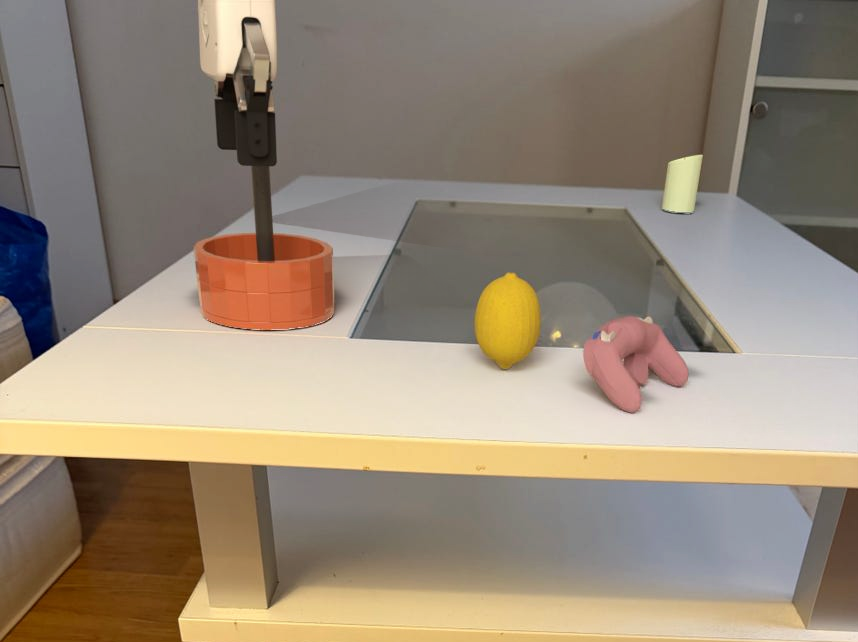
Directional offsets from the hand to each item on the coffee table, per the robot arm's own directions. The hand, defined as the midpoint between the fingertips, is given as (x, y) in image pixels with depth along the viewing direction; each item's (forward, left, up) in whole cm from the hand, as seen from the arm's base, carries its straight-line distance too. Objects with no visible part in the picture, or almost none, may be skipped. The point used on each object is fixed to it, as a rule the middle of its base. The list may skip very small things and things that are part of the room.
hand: (246, 157), depth 86 cm
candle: (+74, +45, -14) cm, 88 cm away
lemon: (+17, -20, -14) cm, 30 cm away
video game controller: (+25, -28, -14) cm, 40 cm away
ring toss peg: (+1, +1, -13) cm, 13 cm away
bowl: (+1, +1, -14) cm, 14 cm away
